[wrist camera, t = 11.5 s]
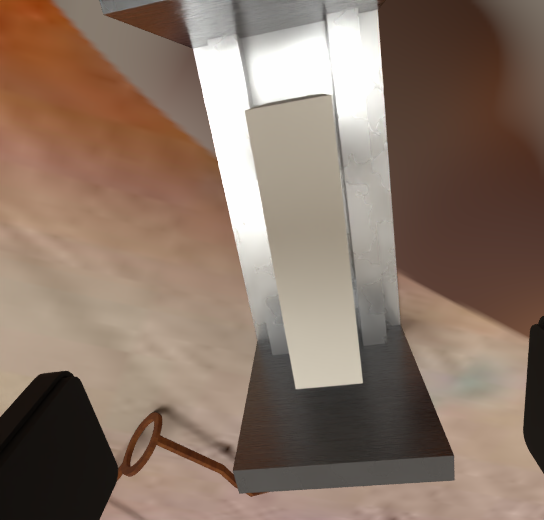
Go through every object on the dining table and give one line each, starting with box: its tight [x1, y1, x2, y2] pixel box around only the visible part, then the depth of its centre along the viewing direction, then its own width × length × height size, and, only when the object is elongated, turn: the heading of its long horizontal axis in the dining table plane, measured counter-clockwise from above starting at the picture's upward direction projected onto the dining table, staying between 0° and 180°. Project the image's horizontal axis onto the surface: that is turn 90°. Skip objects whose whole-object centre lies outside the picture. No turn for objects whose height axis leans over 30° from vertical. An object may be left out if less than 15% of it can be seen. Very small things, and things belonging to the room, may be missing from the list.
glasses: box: [117, 412, 267, 497], centre depth 35 cm, size 13×13×5 cm
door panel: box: [244, 93, 363, 389], centre depth 21 cm, size 12×3×10 cm, turn 10°
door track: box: [99, 0, 454, 494], centre depth 21 cm, size 22×10×12 cm, turn 10°
